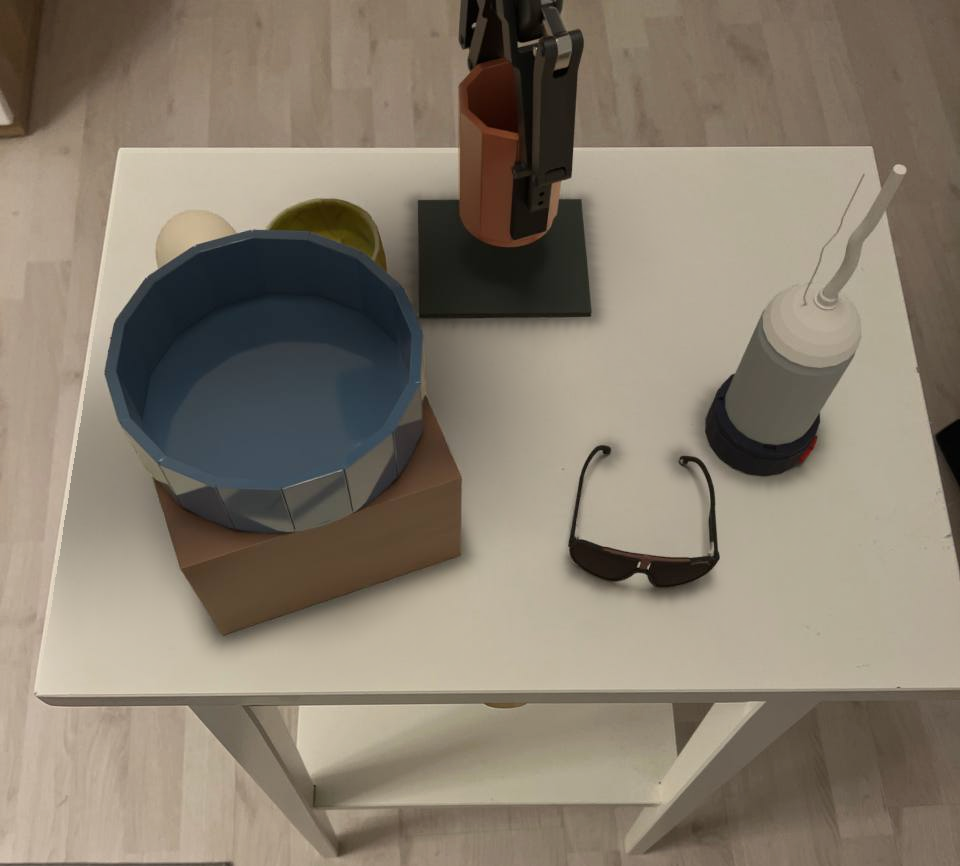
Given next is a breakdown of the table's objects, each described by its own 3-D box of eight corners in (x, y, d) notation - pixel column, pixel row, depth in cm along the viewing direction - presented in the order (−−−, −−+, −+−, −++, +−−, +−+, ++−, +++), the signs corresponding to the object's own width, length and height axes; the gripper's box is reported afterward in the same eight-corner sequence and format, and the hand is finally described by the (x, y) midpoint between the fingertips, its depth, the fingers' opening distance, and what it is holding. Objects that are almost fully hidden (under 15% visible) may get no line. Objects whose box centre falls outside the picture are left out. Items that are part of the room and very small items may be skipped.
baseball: (250, 246, 79) (232, 182, 73) (255, 317, 77) (238, 256, 71) (167, 255, 79) (143, 190, 73) (171, 326, 76) (145, 265, 70)
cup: (443, 187, 75) (440, 72, 66) (535, 162, 77) (546, 45, 67) (477, 259, 73) (480, 150, 64) (572, 231, 74) (589, 120, 65)
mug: (408, 238, 78) (373, 174, 68) (407, 362, 77) (372, 315, 67) (266, 250, 80) (212, 189, 70) (265, 371, 79) (210, 326, 70)
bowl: (105, 335, 63) (75, 276, 58) (371, 260, 65) (364, 198, 60) (177, 573, 57) (150, 531, 52) (466, 479, 59) (467, 431, 54)
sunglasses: (561, 586, 69) (569, 548, 64) (574, 458, 75) (582, 414, 70) (706, 605, 69) (724, 568, 64) (708, 475, 74) (725, 432, 70)
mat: (419, 317, 77) (419, 313, 77) (418, 204, 82) (417, 199, 81) (590, 316, 78) (591, 312, 77) (580, 203, 82) (581, 198, 82)
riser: (158, 430, 73) (109, 336, 63) (380, 363, 76) (369, 263, 65) (222, 635, 67) (180, 569, 57) (460, 555, 70) (462, 478, 60)
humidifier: (818, 474, 73) (989, 225, 50) (712, 477, 73) (834, 229, 49) (800, 385, 76) (953, 110, 53) (698, 388, 76) (807, 113, 52)
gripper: (670, -36, 49) (605, 279, 70) (521, -261, 56) (503, 89, 77) (536, -2, 48) (511, 307, 69) (400, -236, 55) (416, 112, 76)
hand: (507, 192), depth 73 cm, fingers closed on cup, 8 cm apart
